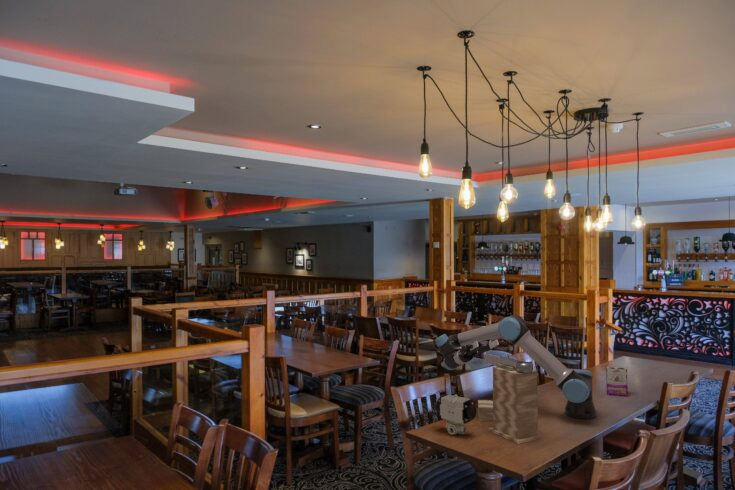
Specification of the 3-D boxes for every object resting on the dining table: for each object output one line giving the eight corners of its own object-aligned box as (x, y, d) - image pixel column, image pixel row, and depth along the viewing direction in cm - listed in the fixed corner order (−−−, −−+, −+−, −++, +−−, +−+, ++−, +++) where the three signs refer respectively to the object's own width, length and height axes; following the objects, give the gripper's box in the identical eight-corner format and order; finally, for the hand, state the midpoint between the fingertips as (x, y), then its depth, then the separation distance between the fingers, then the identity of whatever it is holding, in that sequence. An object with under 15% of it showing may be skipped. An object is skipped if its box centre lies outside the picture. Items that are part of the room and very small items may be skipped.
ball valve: (434, 431, 237) (433, 393, 237) (443, 426, 243) (443, 389, 244) (468, 440, 225) (467, 400, 226) (477, 435, 232) (476, 396, 232)
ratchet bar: (482, 362, 247) (482, 354, 247) (493, 361, 251) (493, 353, 251) (524, 374, 223) (524, 365, 223) (535, 372, 226) (535, 363, 226)
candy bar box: (626, 394, 297) (626, 366, 298) (627, 396, 293) (627, 368, 293) (606, 392, 302) (605, 365, 302) (606, 394, 297) (606, 367, 297)
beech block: (478, 412, 265) (478, 399, 266) (497, 413, 263) (497, 400, 264) (478, 420, 252) (478, 407, 252) (499, 421, 250) (499, 408, 250)
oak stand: (488, 430, 237) (488, 363, 238) (512, 425, 244) (511, 360, 245) (518, 444, 221) (517, 371, 221) (542, 437, 228) (542, 368, 228)
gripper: (483, 360, 278) (508, 348, 262) (447, 364, 266) (470, 351, 250) (479, 347, 281) (503, 334, 265) (443, 350, 269) (466, 337, 253)
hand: (487, 342), depth 257 cm, fingers open, 13 cm apart
